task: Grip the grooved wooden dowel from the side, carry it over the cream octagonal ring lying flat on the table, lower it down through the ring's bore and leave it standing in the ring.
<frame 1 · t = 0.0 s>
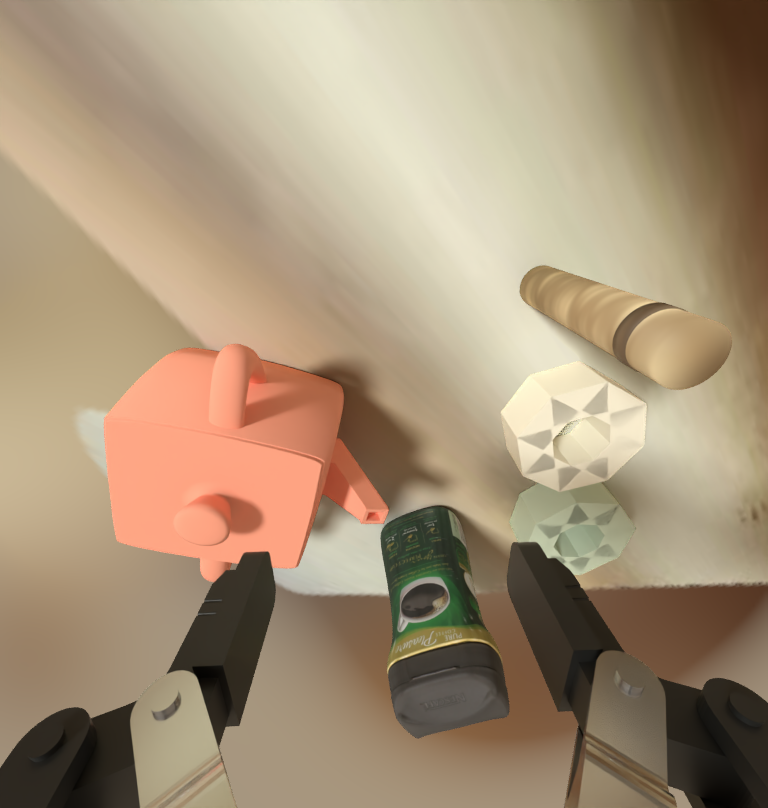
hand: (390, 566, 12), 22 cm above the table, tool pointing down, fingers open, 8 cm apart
coffee jar: (421, 528, 43), on the table
sage bead: (559, 510, 42), on the table
cream octagonal ring: (558, 416, 36), on the table
teapot: (285, 421, 35), on the table
grooved wooden dowel: (539, 286, 29), on the table
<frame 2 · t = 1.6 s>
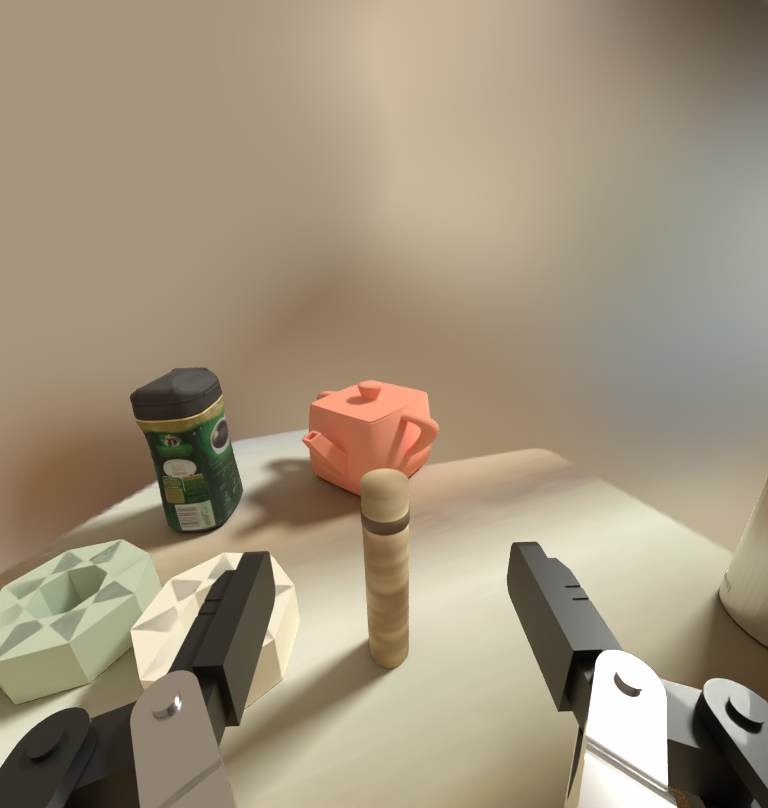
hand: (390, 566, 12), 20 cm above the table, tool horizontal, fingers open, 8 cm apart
coffee jar: (208, 511, 46), on the table
sage bead: (85, 627, 31), on the table
cream octagonal ring: (227, 645, 30), on the table
teapot: (363, 476, 53), on the table
grooved wooden dowel: (388, 647, 29), on the table
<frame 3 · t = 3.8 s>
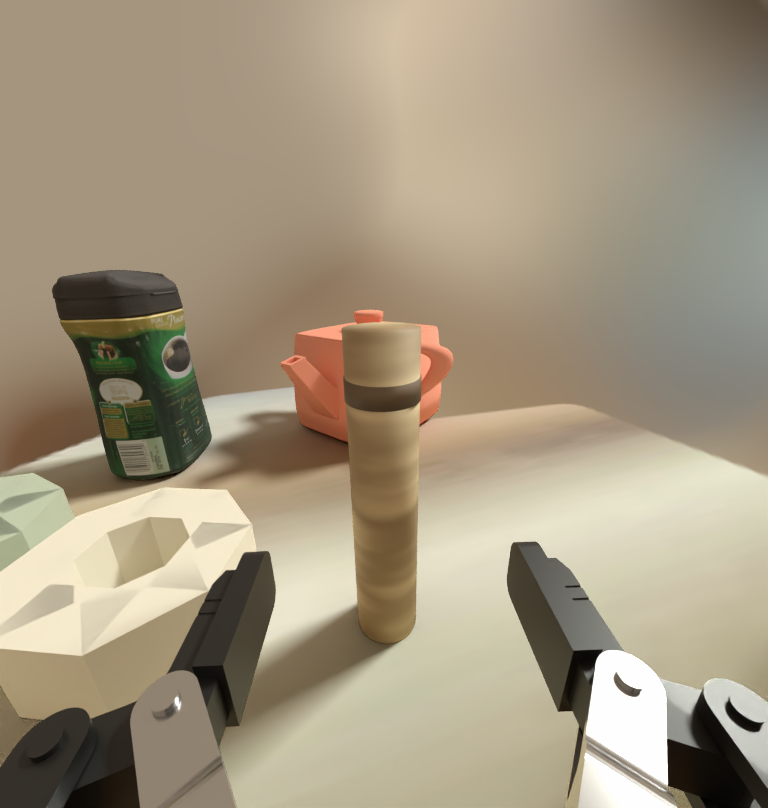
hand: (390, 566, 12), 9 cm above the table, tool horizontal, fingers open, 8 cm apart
coffee jar: (166, 460, 38), on the table
cream octagonal ring: (154, 609, 21), on the table
teapot: (359, 428, 44), on the table
grooved wooden dowel: (387, 615, 20), on the table
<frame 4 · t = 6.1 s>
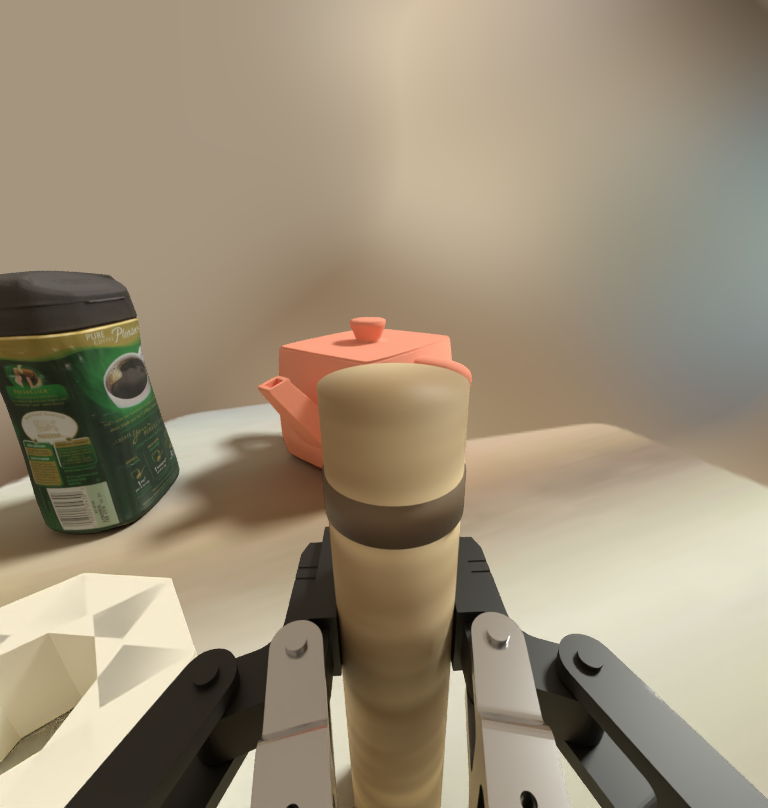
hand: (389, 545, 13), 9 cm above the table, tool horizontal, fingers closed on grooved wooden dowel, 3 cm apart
coffee jar: (121, 502, 31), on the table
cream octagonal ring: (51, 777, 14), on the table
teapot: (357, 457, 38), on the table
grooved wooden dowel: (397, 792, 13), on the table, touching gripper
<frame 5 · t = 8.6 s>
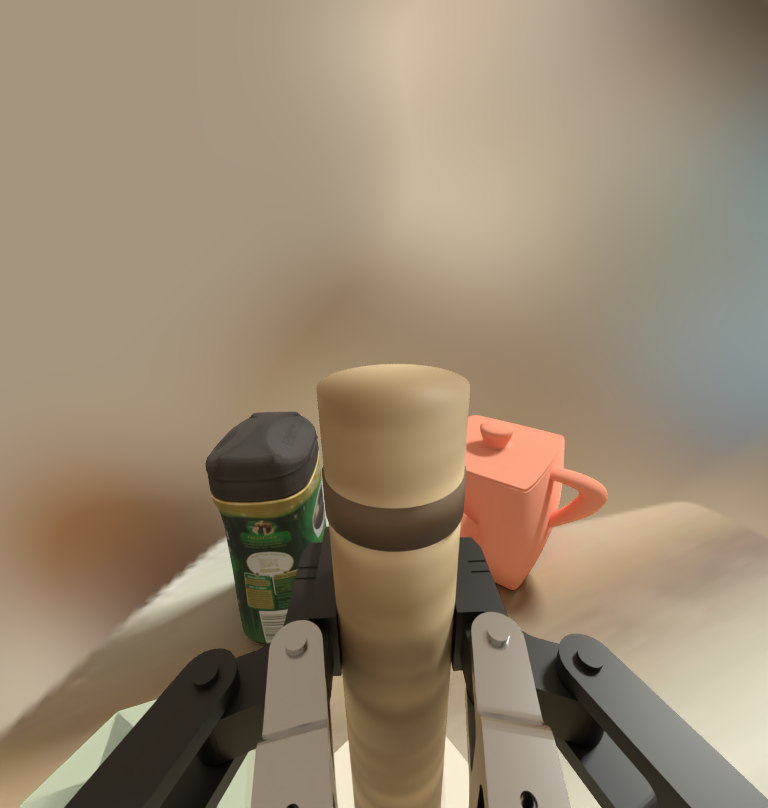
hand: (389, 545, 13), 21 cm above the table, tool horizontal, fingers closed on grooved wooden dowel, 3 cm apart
coffee jar: (290, 602, 34), on the table
teapot: (477, 544, 41), on the table
grooved wooden dowel: (397, 794, 13), point 12 cm above the table, touching gripper
when the fingers open (10 cm above the table, at t = 11.5 s): grooved wooden dowel drops 1 cm, resting in cream octagonal ring.
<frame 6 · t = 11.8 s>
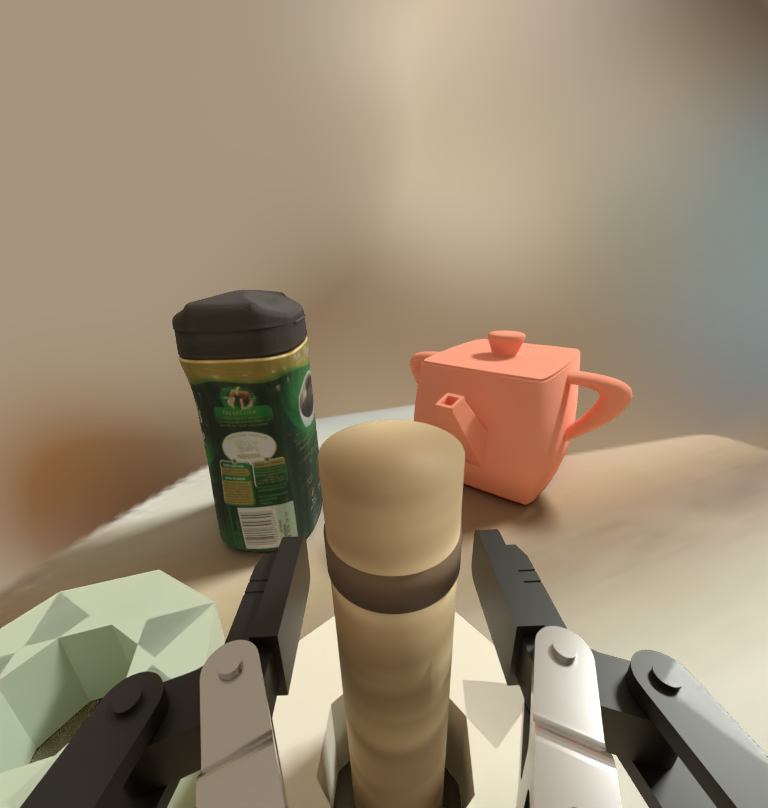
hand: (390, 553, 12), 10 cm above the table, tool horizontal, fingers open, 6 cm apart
coffee jar: (276, 518, 31), on the table
sage bead: (92, 754, 16), on the table
teapot: (484, 469, 38), on the table
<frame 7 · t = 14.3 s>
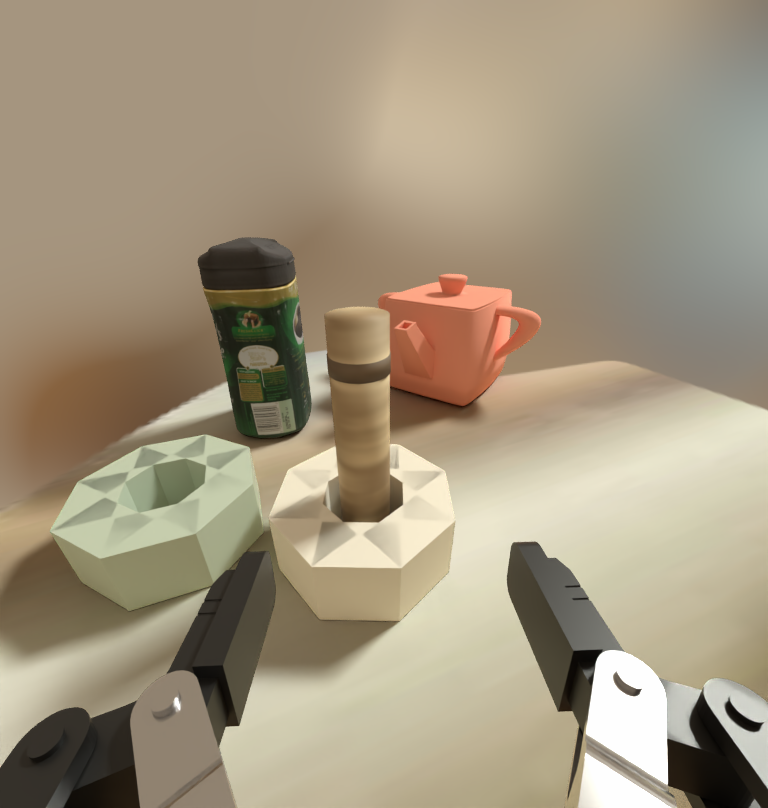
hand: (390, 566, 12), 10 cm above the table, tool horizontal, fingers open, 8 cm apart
coffee jar: (276, 420, 40), on the table
sage bead: (182, 530, 26), on the table
cream octagonal ring: (366, 541, 25), on the table
teapot: (436, 387, 48), on the table
grooved wooden dowel: (367, 542, 25), resting in cream octagonal ring
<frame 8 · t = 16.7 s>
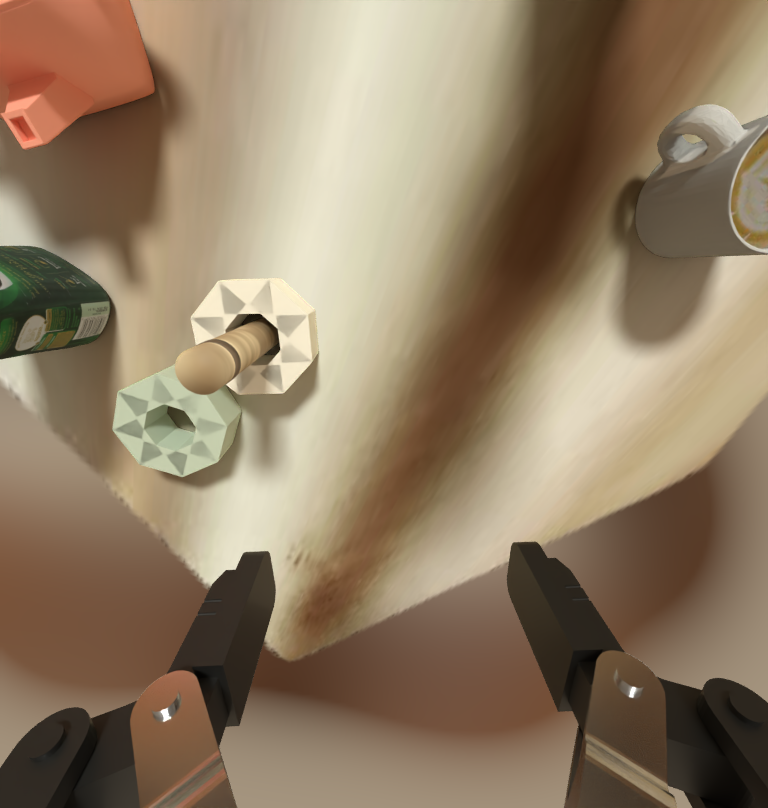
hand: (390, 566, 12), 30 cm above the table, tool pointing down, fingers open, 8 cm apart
coffee jar: (67, 298, 37), on the table
coffee mug: (676, 189, 35), on the table
sage bead: (190, 412, 42), on the table
cream octagonal ring: (266, 332, 39), on the table
teapot: (72, 49, 30), on the table
grooved wooden dowel: (267, 332, 39), resting in cream octagonal ring
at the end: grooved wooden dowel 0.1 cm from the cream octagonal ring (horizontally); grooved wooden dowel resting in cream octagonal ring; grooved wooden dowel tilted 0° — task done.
